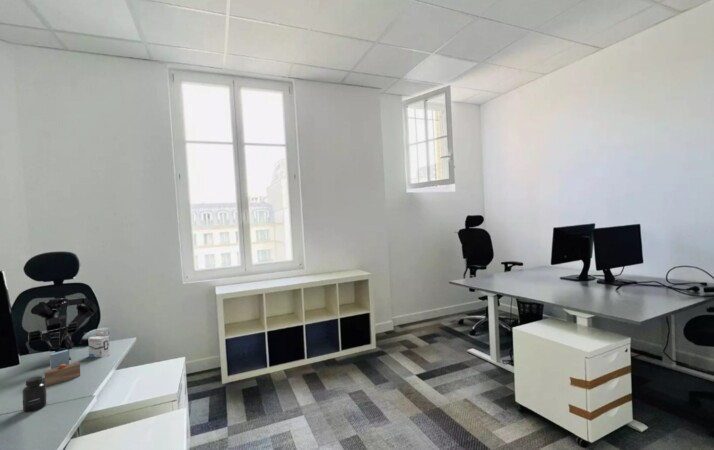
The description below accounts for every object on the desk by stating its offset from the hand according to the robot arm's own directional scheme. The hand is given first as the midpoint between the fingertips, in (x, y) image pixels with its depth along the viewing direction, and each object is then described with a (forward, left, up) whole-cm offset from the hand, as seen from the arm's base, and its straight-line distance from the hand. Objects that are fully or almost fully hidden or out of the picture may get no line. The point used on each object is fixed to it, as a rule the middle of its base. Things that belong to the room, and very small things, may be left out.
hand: (56, 345), depth 163 cm
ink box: (-5, +18, -14) cm, 23 cm away
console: (+13, 0, -14) cm, 19 cm away
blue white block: (+9, 0, -12) cm, 15 cm away
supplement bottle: (+38, -11, -14) cm, 42 cm away
